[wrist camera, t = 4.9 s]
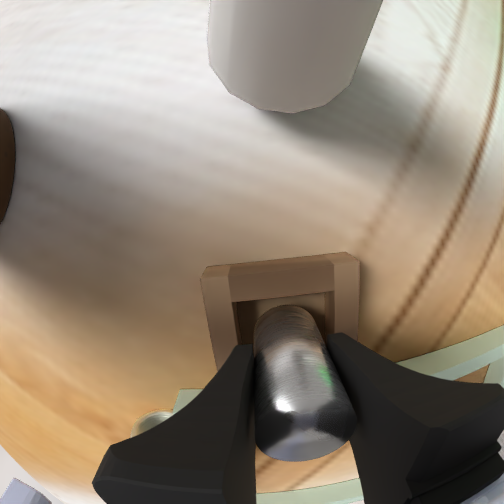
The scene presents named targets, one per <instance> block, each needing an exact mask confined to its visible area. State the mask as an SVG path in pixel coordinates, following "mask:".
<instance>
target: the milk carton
mask: <svg viewBox="0 0 504 504" xmlns="http://www.w3.org/2000/svg"><path fill="white" fill-rule="evenodd" d="M497 441H498V442H499V444H500V445H501V450H500V451H499V452H498V453H499V455H500V456H501V457H502V459H503V460H504V430H503V432H502V433H501V435H500V437H499V438H498V440H497Z"/></svg>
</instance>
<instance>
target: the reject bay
mask: <svg viewBox="0 0 504 504" xmlns="http://www.w3.org/2000/svg"><path fill="white" fill-rule="evenodd" d="M396 364H399V365H401V366H403V367H406V368H408V369H411V370H414V371H416V372H419V373H422V374H426V375H429V376H433V377H437V378H441V379H446V380H452V381H453V380H456V379H458V378H460V377H463V376H465V375H467V374H469V373H472V372H474V371H476V370H478V369H480V368H482V367H484V366H486V365H488V364H490V365H489V368H488V371H487V374H486V377H485V379H484V382H483V383H499V384H500V385H501V386H502V387H503V388H504V325H502V326H500V327H498V328H496V329H493V330H491V331H489V332H486V333H484V334H481V335H479V336H476V337H474V338H471V339H469V340H466V341H463V342H461V343H458V344H455V345H452V346H449V347H446V348H443V349H441V350H437V351H434V352H431V353H428V354H425V355H422V356H418V357H415V358H411V359H408V360H404V361H400V362H397V363H396ZM202 390H203V389H180V391H179V394H178V397H177V400H176V403H175V406H174V409H173V415H174V414H175V413H176V412H178V411H179V410H181V409H182V408H183V407H185V406H186V405H187V404H188V403H189V402H191V401H192V400H193V399H194V398H195V397H196V396H197V395H198V394H199V393H200V392H201V391H202ZM360 500H364V498H363V492H362V487H361V482H360V478H358V479H354V480H350V481H345V482H341V483H336V484H331V485H326V486H321V487H315V488H309V489H302V490H294V491H285V492H275V493H261V494H256V503H257V504H348V503H352V502H356V501H360Z"/></svg>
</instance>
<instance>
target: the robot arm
mask: <svg viewBox="0 0 504 504" xmlns="http://www.w3.org/2000/svg"><path fill="white" fill-rule="evenodd" d="M327 349H328V352H329V354H330V356H331V358H332V361H333V363H334V365H335V368H336V370H337V372H338V374H339V377H340V379H341V381H342V384H343V386H344V388H345V390H346V393H347V395H348V397H349V400H350V402H351V404H352V407H353V409H354V412H355V414H356V417H357V425H356V429H355V431H354V433H353V435H352V436H351V437H350V439H349V441H350V444H351V446H352V450H353V454H354V457H355V461H356V465H357V469H358V474H359V478H360V482H361V487H362V492H363V498H364V503H365V504H504V460H503V459H502V457H501V456H500V455H499V453H498V452H499V451H500V450H501V445H500V444H499V442H498V441H497V440H498V438H499V437H500V435H501V433H502V432H503V430H504V388H503V387H502V386H501V385H500V384H499V383H467V382H459V381H452V380H446V379H441V378H437V377H433V376H429V375H426V374H422V373H419V372H416V371H414V370H411V369H408V368H406V367H403V366H401V365H399V364H396V363H394V362H392V361H390V360H388V359H386V358H384V357H382V356H381V355H379V354H377V353H375V352H374V351H372V350H370V349H368V348H367V347H365V346H364V345H362V344H360V343H359V342H357V341H356V340H354V339H353V338H351V337H349V336H348V335H346V334H345V333H343V332H341V333H335V334H329V335H327ZM255 449H256V442H255V416H254V353H253V345H252V344H244V345H236V346H235V347H234V348H233V350H232V351H231V353H230V355H229V356H228V358H227V359H226V361H225V362H224V364H223V365H222V367H221V368H220V369H219V371H218V372H217V373H216V375H215V376H214V377H213V379H212V380H211V381H210V382H209V383H208V384H207V385H206V387H205V388H204V389H203V390H202V391H201V392H200V393H199V394H198V395H197V396H196V397H195V398H194V399H193V400H192V401H191V402H189V403H188V404H187V405H186V406H185V407H183V408H182V409H181V410H179V411H178V412H176V413H175V414H174V415H172V416H171V417H169V418H168V419H166V420H165V421H163V422H162V423H160V424H158V425H156V426H155V427H153V428H151V429H149V430H147V431H145V432H143V433H141V434H139V435H136V436H134V437H131V438H129V439H126V440H124V441H121V442H119V443H116V444H113V445H110V447H109V449H108V450H107V452H106V454H105V455H104V457H103V460H102V462H101V464H100V466H99V468H98V470H97V473H96V475H95V477H94V479H93V481H92V484H93V487H94V489H95V491H96V492H97V494H98V495H99V496H100V497H101V498H102V499H103V500H104V501H105V502H106V503H107V504H257V503H256V479H255ZM0 504H52V503H51V502H50V501H49V500H48V499H47V498H46V497H45V496H44V495H43V494H41V493H40V492H39V491H37V490H35V489H34V488H32V487H31V486H29V485H27V484H25V483H23V482H22V481H20V480H18V479H16V478H13V480H12V481H11V483H10V484H9V486H8V487H7V489H6V490H5V492H4V494H3V495H2V497H1V499H0Z"/></svg>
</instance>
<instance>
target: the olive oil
mask: <svg viewBox="0 0 504 504" xmlns="http://www.w3.org/2000/svg"><path fill="white" fill-rule="evenodd" d="M14 169H15V141H14V134H13V129H12V125H11V122H10V120H9V118H8V116H7V114H6V113H5V112H4V111H3V110H2V109H0V224H1V222H2V220H3V217H4V215H5V212H6V210H7V206H8V203H9V199H10V195H11V190H12V185H13V178H14Z"/></svg>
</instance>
